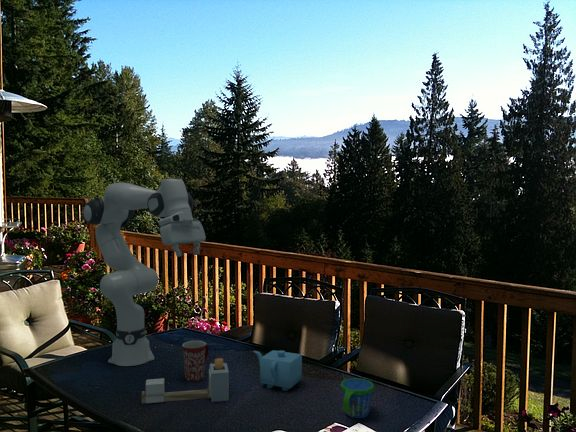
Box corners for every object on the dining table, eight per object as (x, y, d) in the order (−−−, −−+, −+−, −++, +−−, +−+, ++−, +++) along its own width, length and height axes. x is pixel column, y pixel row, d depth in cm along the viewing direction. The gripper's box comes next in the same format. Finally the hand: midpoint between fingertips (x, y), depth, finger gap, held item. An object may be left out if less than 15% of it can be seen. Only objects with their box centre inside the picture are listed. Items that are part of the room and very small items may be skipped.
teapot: (304, 380, 201) (304, 347, 200) (287, 395, 187) (287, 359, 186) (262, 373, 209) (262, 341, 208) (243, 387, 194) (242, 353, 194)
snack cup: (357, 427, 162) (357, 395, 162) (329, 417, 169) (329, 386, 169) (383, 411, 174) (383, 380, 174) (356, 402, 181) (356, 373, 180)
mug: (195, 384, 197) (195, 349, 196) (177, 379, 202) (177, 345, 201) (217, 374, 208) (216, 340, 207) (199, 369, 213) (199, 336, 212)
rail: (142, 399, 183) (142, 391, 183) (210, 394, 188) (210, 386, 187) (141, 403, 180) (141, 394, 180) (210, 397, 185) (210, 389, 185)
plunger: (214, 372, 187) (214, 358, 187) (223, 371, 188) (222, 357, 188) (215, 375, 185) (214, 361, 184) (223, 374, 185) (223, 360, 185)
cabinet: (208, 390, 191) (208, 363, 190) (226, 389, 192) (226, 362, 192) (210, 402, 181) (210, 373, 181) (228, 400, 182) (228, 372, 182)
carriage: (146, 397, 184) (146, 379, 184) (164, 396, 186) (164, 378, 185) (145, 403, 179) (145, 384, 179) (164, 401, 181) (163, 383, 180)
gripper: (193, 220, 206) (200, 254, 204) (154, 221, 188) (162, 259, 187) (205, 216, 203) (212, 251, 201) (167, 217, 185) (175, 255, 184)
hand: (188, 255), depth 194 cm, fingers open, 8 cm apart
